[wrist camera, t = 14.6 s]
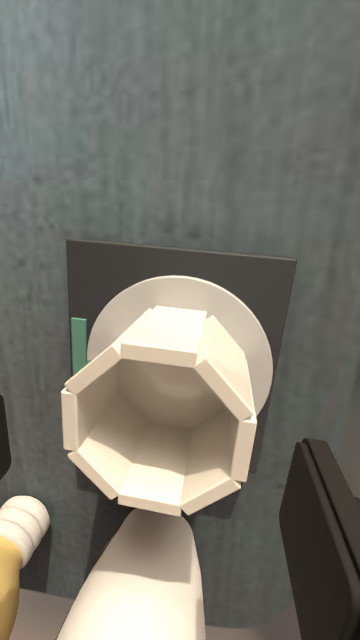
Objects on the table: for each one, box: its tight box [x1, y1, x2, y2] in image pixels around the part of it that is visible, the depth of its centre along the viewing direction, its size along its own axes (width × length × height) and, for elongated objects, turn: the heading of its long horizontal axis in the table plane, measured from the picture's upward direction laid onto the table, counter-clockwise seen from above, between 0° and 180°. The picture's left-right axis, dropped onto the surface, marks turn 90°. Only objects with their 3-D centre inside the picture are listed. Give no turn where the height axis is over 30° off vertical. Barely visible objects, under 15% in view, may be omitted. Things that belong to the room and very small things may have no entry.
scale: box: [66, 239, 297, 473], centre depth 16 cm, size 12×11×2 cm
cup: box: [56, 508, 206, 640], centre depth 16 cm, size 8×8×10 cm
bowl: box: [61, 306, 257, 516], centre depth 12 cm, size 7×7×5 cm
